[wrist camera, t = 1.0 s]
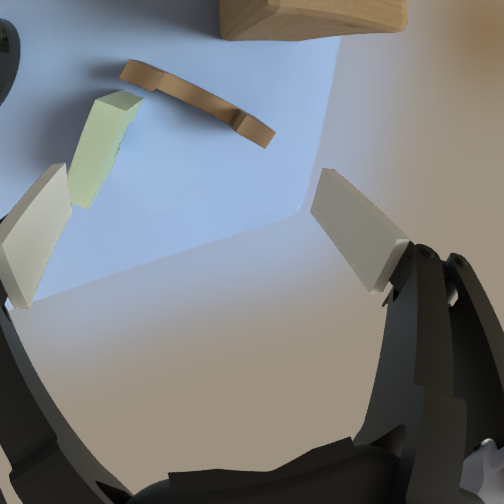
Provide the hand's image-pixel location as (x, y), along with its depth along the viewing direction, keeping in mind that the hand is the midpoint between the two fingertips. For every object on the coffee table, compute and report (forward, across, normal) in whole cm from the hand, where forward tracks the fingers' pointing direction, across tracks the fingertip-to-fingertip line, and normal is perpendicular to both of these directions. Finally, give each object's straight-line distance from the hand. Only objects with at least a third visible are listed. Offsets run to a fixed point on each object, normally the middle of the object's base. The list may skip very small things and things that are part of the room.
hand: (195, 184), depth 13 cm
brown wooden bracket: (+22, +1, +2) cm, 22 cm away
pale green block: (+22, -8, -2) cm, 24 cm away
